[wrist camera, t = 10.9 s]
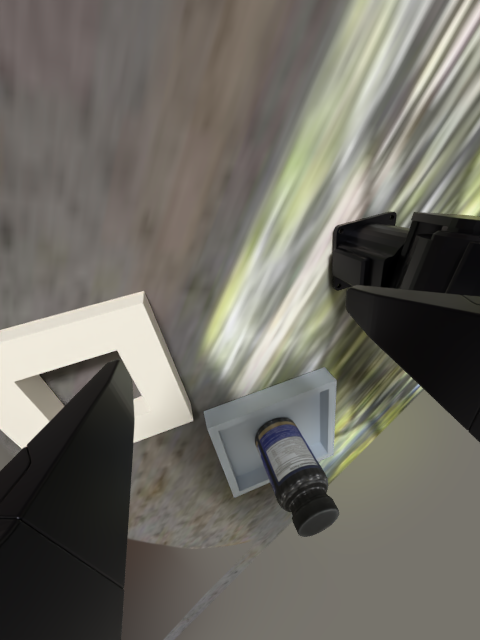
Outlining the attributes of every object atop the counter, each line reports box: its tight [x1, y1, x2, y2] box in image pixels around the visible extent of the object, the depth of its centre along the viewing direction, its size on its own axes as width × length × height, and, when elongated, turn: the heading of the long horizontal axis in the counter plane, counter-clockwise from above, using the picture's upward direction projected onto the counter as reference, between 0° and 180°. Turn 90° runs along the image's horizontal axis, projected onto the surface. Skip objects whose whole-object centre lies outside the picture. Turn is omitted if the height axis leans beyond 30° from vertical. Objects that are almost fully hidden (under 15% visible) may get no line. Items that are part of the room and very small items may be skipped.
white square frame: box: [0, 291, 193, 449], centre depth 22 cm, size 14×14×2 cm
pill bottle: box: [255, 417, 339, 537], centre depth 29 cm, size 6×6×11 cm
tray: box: [204, 367, 337, 498], centre depth 33 cm, size 16×16×2 cm
